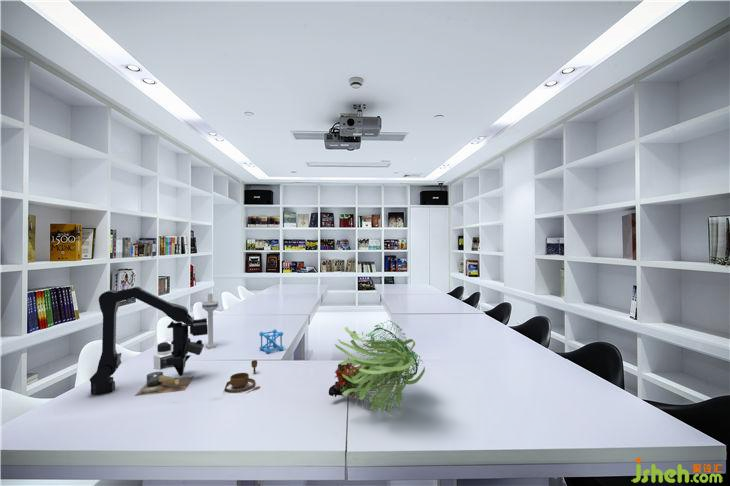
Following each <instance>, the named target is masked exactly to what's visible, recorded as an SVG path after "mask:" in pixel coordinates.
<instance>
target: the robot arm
mask: <svg viewBox="0 0 730 486" xmlns="http://www.w3.org/2000/svg"><path fill="white" fill-rule="evenodd" d="M130 299H137V300H138V301H141V302H143V303H144V304H147V305H148V306H151V307H153V308H155V309H156V310H158V311H161V312H163V313H164V314H165V315H166V316H167V317H168V318H169V319H171V322H170V323H169V324H168V325H167V327H166V328H167V329H172V341H171V344H172V350H173V351H172V352H171V356H170V357H169V358H168V359H167V360H166V366H168V365H173V366H174V367H173V368H174V369H175V370H176V373H177V374H178V376H180V377H182V376H183V375H184V371H185V367H186V363H187V361H188V360H189V358H191V355H190V354H189V353H191V354H194V355H196V356H200V355H201V354H202V351H203V349H204V346H205V344H204V343H203V340H201V339H198V340H197V341H191V338H190V337H189V334H190V335H191V336H193V337H195V336H196V337H197V336H208V317H204V318H200V319H198V318H197V319H194V318H193V317H192V316H191V315H190V314H189V309H188V307H186V306H184V305H180V304H177V303H173V302H170V301H167V300H166V299H163V298H160V297H159V296H156V295H154V294H152V292H151V293H150V292H148V291H147V290H145V289H143V288H142V287H140V286H134V287H131V288H127V289H121V290H120V289H119V290H115V289H110V290H106V291H104V292H102V293H101V294H100V295H99V296H98V304H99V310H100V312H101V314H102V337H101V338H102V340H101V344H102V346H101V355H100V358H99V361H98V364H97V369H96V371H95V373H93V375H92V376H91V377H90V378H89V382H90V395H91V396H92V395H93V396H101V395H105V394H106V395H107V394H110V393H113V392H114V391H115V390H116V382H115V380H114V376H113V375H114V374H115V373H116V371H117V370H118V369H119V366H120V365H121V364H122V360H121V358H122V352H119V353H118V352H117V349H116V348H117V347H116V345H117V343H116V342H117V340H116V339H117V313H118V310H119V307H120V304H121V302H122V301H125V300H130ZM174 354H175V355H174Z"/></svg>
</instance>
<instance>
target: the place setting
mask: <svg viewBox="0 0 730 486" xmlns="http://www.w3.org/2000/svg"><path fill="white" fill-rule="evenodd" d="M257 366H258V360H256V359H254V360H251V368H253V370H252V371H253V373H252V374H253V375H255V374H257V372H256V368H257ZM229 377H230V379H229V381H227V382H226V384H225V387H224V391H226V392H228V393H242V392H246V394H249V393H250V392H253V391H257V390H258V389H260V388H261V385H259V386H255V385H256V379H254V378H251V377H250V375H249V373H247V372H238V373H234V374H232V375H230V376H229ZM248 383H250V384H251V385H249V386H246V385H248ZM230 385H231V386H232V387H233V389H231V388H228V386H230ZM254 386H255V387H254ZM234 388H235V389H234Z"/></svg>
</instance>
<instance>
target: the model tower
mask: <svg viewBox="0 0 730 486" xmlns="http://www.w3.org/2000/svg"><path fill="white" fill-rule="evenodd" d="M213 297H214V295H213V293H207V301H202V303H201V305H202V307H201V309H203V310H205V311H206V312H207V325H208V335H207V336H208V337H207V338H208V340H207V341H208V343H207V344H205V348H206V349H207V350H211V349H216V348H217V344H216V343H214V311H216V310H217V309H218V307H219V301H217V300H213Z"/></svg>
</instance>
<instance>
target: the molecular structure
mask: <svg viewBox="0 0 730 486" xmlns="http://www.w3.org/2000/svg"><path fill="white" fill-rule="evenodd" d="M258 335H259V336H260V346H259V350H260V351H264V352H265V354H270V352H274V351H283V350H284V346H283V339H282V338H283V335H284V332H283V331H280V332H279V331H277V329H273V330H272V331H266V332H263V331H260V332H259V334H258ZM263 337H264V338H265V339H266V344H263ZM279 337H280V345H278V344H277V343H276V341H277V340H276V339H277V338H279ZM272 347H273V349H270V348H272Z"/></svg>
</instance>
